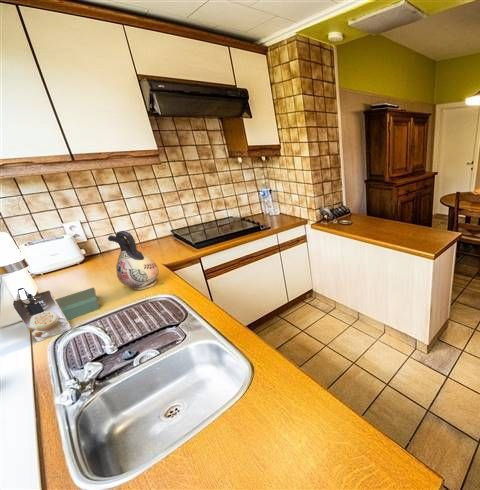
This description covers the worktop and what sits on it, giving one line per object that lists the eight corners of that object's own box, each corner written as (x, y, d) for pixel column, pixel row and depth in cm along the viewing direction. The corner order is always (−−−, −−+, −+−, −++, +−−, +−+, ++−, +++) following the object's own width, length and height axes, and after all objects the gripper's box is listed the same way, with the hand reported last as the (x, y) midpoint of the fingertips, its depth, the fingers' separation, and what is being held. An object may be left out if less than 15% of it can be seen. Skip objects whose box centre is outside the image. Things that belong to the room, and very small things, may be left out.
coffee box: (36, 343, 98) (11, 307, 91) (36, 335, 102) (11, 301, 95) (71, 329, 104) (50, 294, 98) (70, 322, 108) (49, 289, 102)
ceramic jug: (116, 292, 128) (87, 235, 116) (147, 276, 142) (124, 224, 130) (143, 296, 124) (116, 236, 112) (172, 279, 138) (151, 225, 126)
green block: (47, 327, 106) (39, 315, 104) (49, 314, 114) (42, 303, 112) (101, 308, 117) (95, 296, 114) (99, 298, 124) (93, 287, 122)
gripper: (-2, 264, 95) (26, 305, 102) (-12, 279, 83) (20, 324, 91) (30, 256, 100) (54, 296, 107) (24, 270, 88) (52, 314, 95)
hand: (38, 309), depth 99 cm, fingers closed on coffee box, 6 cm apart
